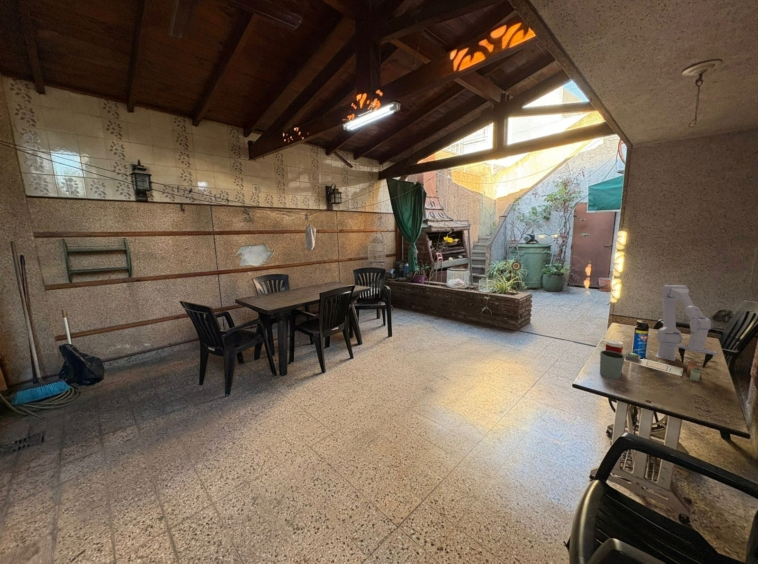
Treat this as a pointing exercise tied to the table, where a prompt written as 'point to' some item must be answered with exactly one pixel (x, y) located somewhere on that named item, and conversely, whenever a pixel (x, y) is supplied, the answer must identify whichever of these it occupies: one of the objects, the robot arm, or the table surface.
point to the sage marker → (695, 374)
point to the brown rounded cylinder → (691, 366)
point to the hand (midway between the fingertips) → (692, 364)
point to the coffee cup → (614, 346)
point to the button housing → (633, 358)
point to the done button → (633, 355)
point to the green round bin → (611, 364)
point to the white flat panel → (659, 366)
